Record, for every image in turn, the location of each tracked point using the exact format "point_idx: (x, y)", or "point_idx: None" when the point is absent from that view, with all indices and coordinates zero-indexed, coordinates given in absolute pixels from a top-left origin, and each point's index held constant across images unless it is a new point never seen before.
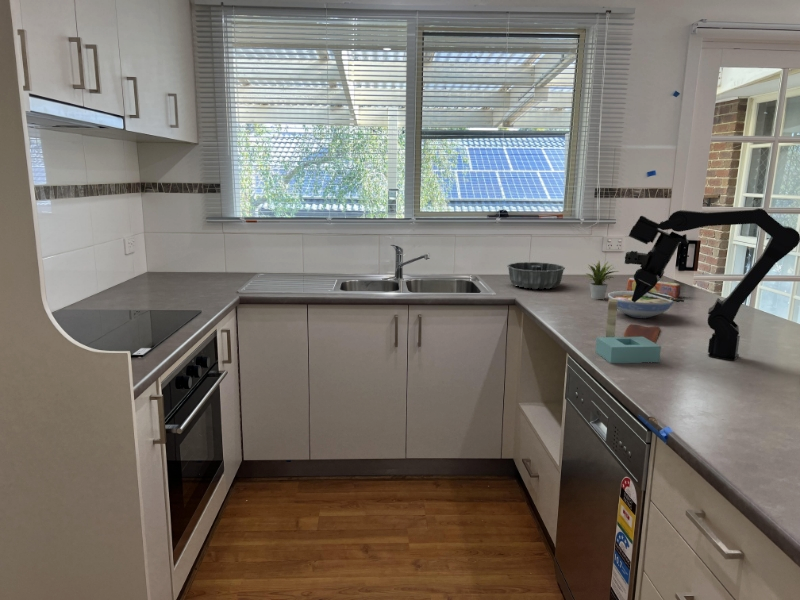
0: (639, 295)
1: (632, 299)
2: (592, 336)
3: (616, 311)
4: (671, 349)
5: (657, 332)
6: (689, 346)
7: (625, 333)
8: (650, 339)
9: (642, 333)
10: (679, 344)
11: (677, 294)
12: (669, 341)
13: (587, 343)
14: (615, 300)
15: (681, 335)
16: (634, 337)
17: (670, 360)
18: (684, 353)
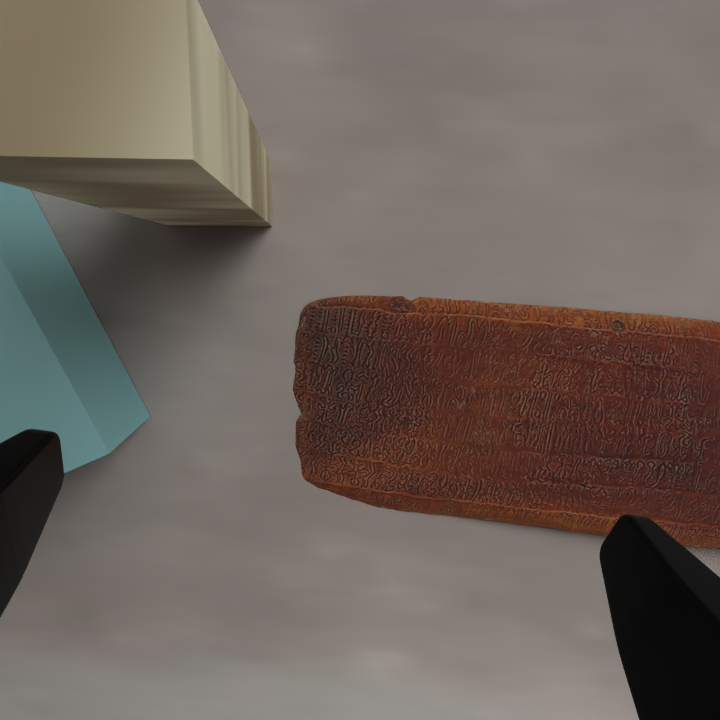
0: None
1: (4, 450)
2: (468, 60)
3: (9, 181)
4: (294, 598)
5: None
6: (412, 699)
7: (615, 319)
8: (465, 485)
9: (609, 439)
10: (441, 648)
11: None
12: (499, 595)
13: (228, 17)
14: (16, 115)
15: None
16: (44, 384)
17: None
18: (226, 664)
